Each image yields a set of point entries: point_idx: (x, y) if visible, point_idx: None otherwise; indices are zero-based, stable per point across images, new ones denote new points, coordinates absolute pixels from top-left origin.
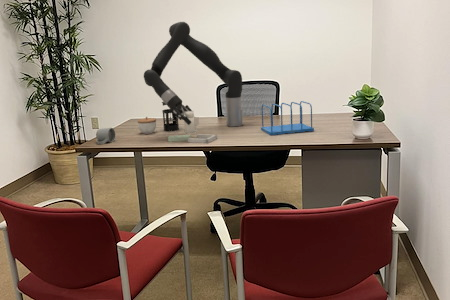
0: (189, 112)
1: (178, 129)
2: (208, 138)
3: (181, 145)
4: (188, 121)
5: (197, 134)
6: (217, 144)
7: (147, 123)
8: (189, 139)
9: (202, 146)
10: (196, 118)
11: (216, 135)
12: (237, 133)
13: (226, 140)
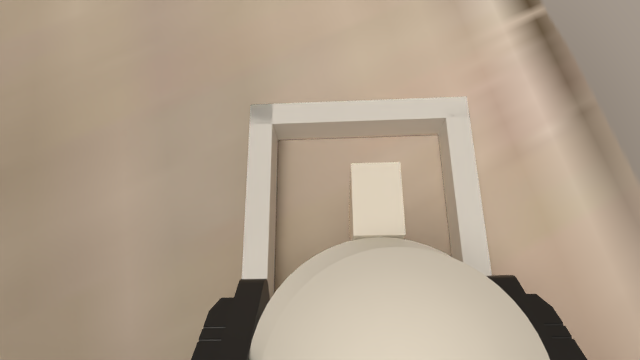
0: (523, 319)
1: None
2: (422, 107)
3: (636, 324)
4: (551, 309)
5: None
6: (464, 27)
7: None
8: None
9: (578, 105)
10: (398, 191)
11: (258, 106)
12: (33, 48)
13: (309, 23)
